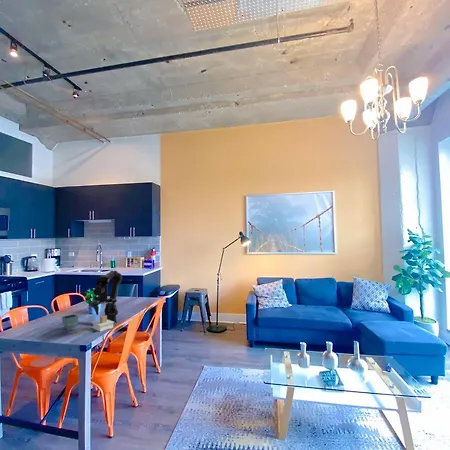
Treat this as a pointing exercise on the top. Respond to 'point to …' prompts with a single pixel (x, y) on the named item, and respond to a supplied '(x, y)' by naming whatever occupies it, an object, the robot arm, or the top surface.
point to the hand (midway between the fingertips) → (103, 313)
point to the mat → (80, 331)
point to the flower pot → (70, 321)
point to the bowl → (103, 327)
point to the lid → (103, 321)
